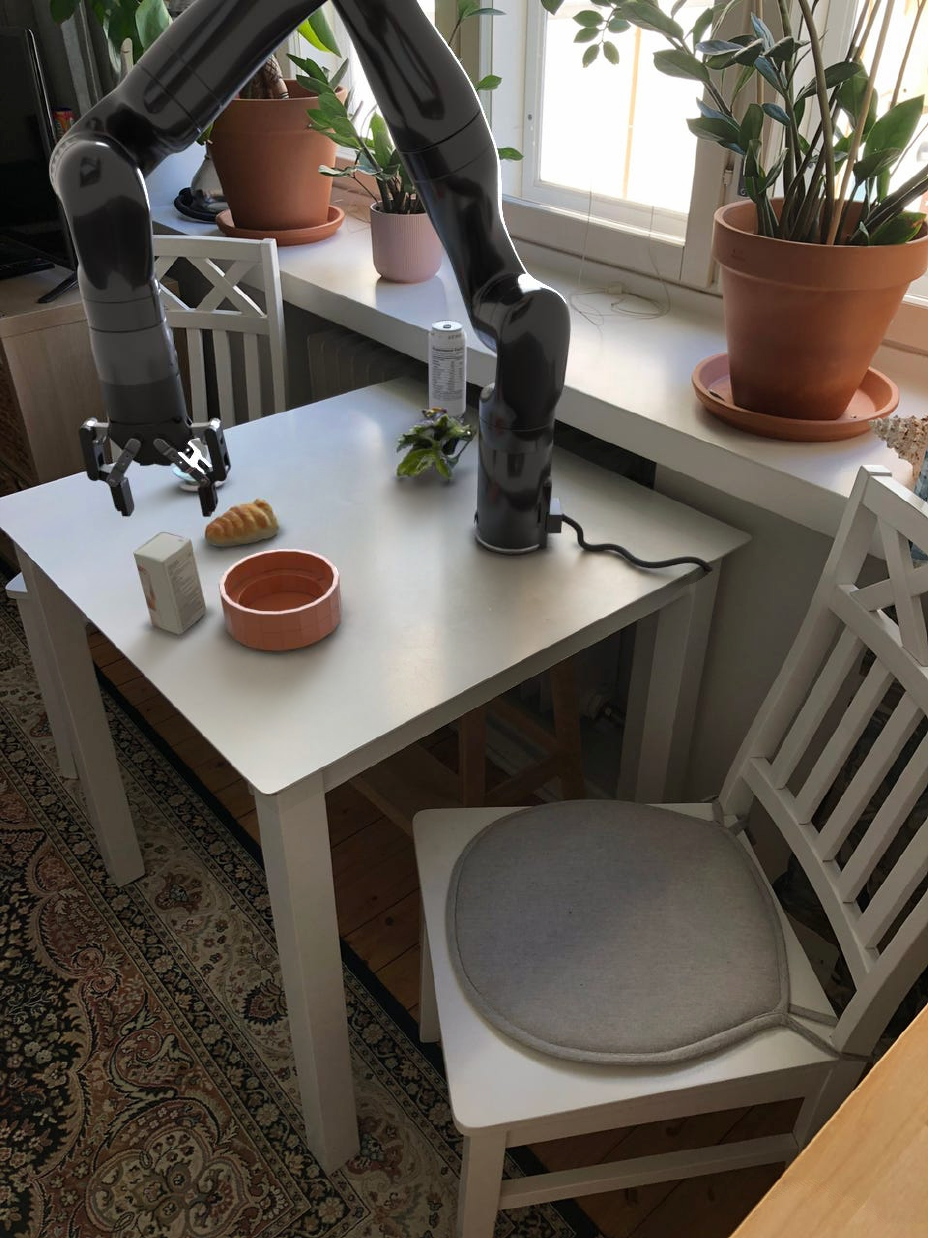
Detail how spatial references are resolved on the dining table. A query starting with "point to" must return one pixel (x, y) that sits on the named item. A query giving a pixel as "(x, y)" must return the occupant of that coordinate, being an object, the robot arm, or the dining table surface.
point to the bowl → (281, 599)
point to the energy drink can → (447, 367)
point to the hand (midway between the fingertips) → (169, 513)
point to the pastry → (243, 525)
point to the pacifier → (187, 477)
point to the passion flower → (434, 443)
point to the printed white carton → (170, 582)
